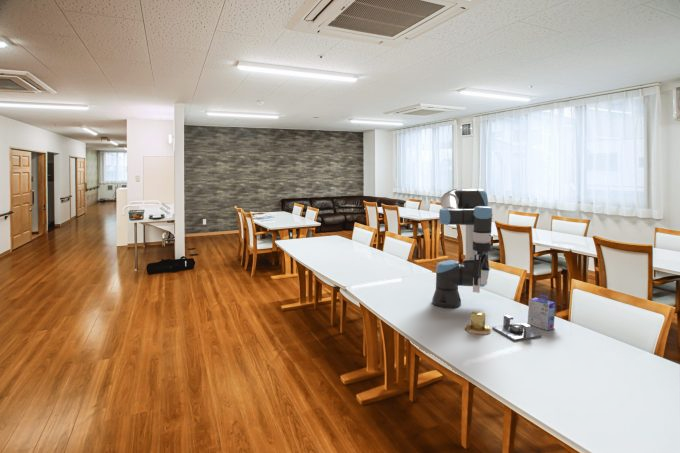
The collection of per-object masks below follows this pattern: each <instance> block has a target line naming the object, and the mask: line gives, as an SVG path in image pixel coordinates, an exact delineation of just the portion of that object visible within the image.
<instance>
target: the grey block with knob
mask: <svg viewBox="0 0 680 453" xmlns="http://www.w3.org/2000/svg"><path fill="white" fill-rule="evenodd" d="M512 320H514V316H512V315H510V314H504V315H503V320H502V321H503V322H502V324H503V325H496V326H492V329H491V330H494V331H496V332H497V333H498V334H501V335H502V336H504V337H506V338H508V339H509V340H511V341H513V342H519V341H525V340H531V339H538V338H542V336H543V335H542V334H540V333H538V332H536V331H534V330H533V329H532V325H530V324H527V322H523V323H519V322H515V323H511V321H512Z"/></svg>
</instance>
